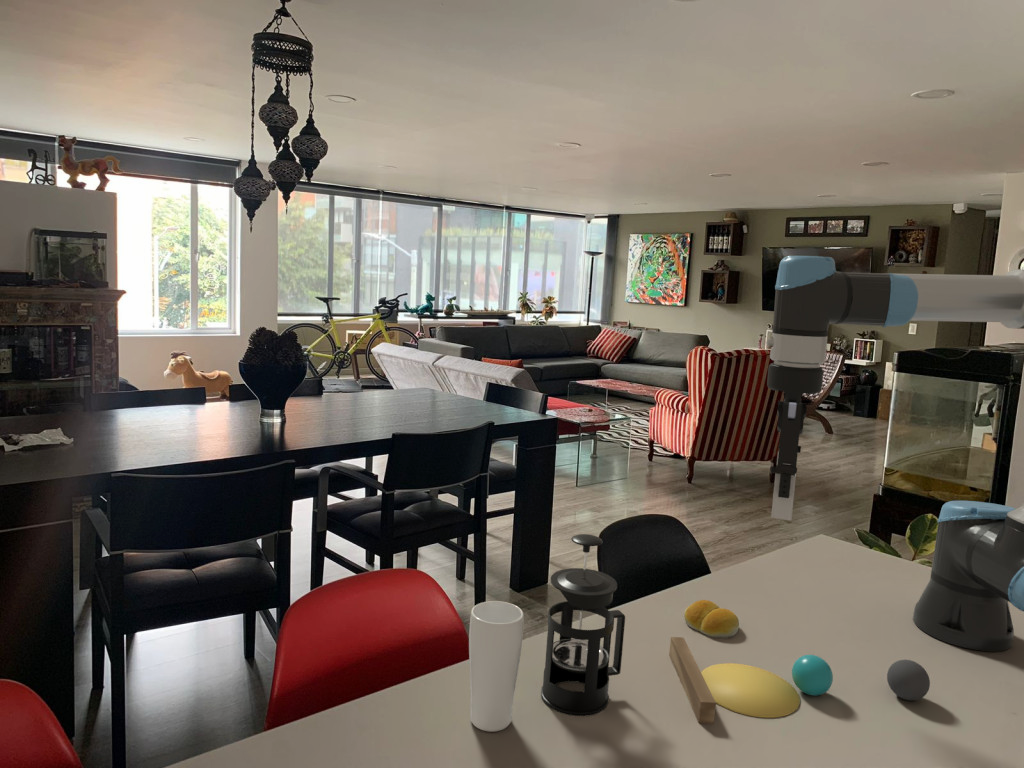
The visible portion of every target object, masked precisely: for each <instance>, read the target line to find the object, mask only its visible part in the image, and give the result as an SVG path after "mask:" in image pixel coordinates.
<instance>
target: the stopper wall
mask: <svg viewBox="0 0 1024 768" xmlns="http://www.w3.org/2000/svg"><path fill="white" fill-rule="evenodd" d="M669 643H670V644H669V653H668V655H669V657H670V659H671V664H672V665H673V667H674V670H675V671H676V674H677V676H678V679H679V681H680V683H681V686H682V688H683V690H684V692H685V695H686V697H687V700H688V703H689V705H690V707H691V709H692V712H693V713H694V715H695V716H694V717H696V720H697V722H698V724H710V725H711V724H714V722H715V715H716V705H717V703H716V702H715V700H714V698H713V696H712V694H711V692H710V690H709V688H708V686H707V684H706V682H705V680H704V678H703V676H702V674H701V672H702V671H701V670H700V668H699V666H698V663H697V661H696V660H695V658H694V656H693V654H692V651H691V649H690V647H689V645H688V643H687V641H686V639H685V637H682V636H681V637H680V636H670V642H669Z"/></svg>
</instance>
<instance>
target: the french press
mask: <svg viewBox="0 0 1024 768" xmlns="http://www.w3.org/2000/svg"><path fill="white" fill-rule="evenodd" d="M570 539H571V541H572V542H573V543H574V544H576V545H579V546H582V552H583V553H584V558H583V559H584V561H583V567H582V568H581V567H579V568H578V567H575V568H574V567H572V568H571V567H570V568H564V569H560V570H557V571H555V572H554V573H552V575H551V576H550V583H551V585H552V586H553V587H554V588H555V589H556V590H558V591H559V592H560V593H561V594H562V595H563V597H564V598H565V600H566V601H561V602H557V603H555V604H553V605H552V606H550V607H549V609H548V612H547V634H546V635H547V636H546V647H545V649H546V650H545V663H544V670H543V679H542V680H543V681H542V686H541V689H540V697H541V699H542V701H543V703H544V704H545V705H546V706H547V707H549V708H550V709H551V710H553V711H556V712H558V713H561V714H565V715H568V716H572V717H573V716H574V717H588V716H594V715H596V714H599V713H601V712H603V711H605V709H606V708H607V707H608V705H609V702H610V696H609V682H610V677H612V676H617V675H620V674H621V671H622V659H623V646H624V636H625V624H626V616H625V615H626V614H625V613H623V612H622V611H621V610H620V609H615V610H609V609H608V608H606V607H608V606H610V604H612V602H613V596H614V592H616V590H617V589H618V583H617V580H616V579H615V578H614V577H612V576H611V575H609V574H607V573H604V572H602V571H599V570H595V569H589V568H587V563H588V562H587V561H588V553H590V551H591V547H597V546H600V545H602V544H603V542H604V541H603V539H602V538H601V537H598V536H596V535H594V534H588V533H579V534H575V535H573V536H572V537H571V538H570ZM574 611H579V619H578V621H579V623H578V628H573V618H574V617H573V616H574ZM583 612H587V613H591V614H592V613H593V614H595V615H598V616H601V617H602V618H604V627H601V628H597V629H582V626H583V625H582V624H583ZM557 613H561V614H560V616H561V617H560V623H559V622H557V621H556V620H555V619H553V616H554V615H556V614H557ZM615 619H616V629H615V638H614V639H615V640H614V651H613V662H612V665H611V666H609V665H610V656H611V655H610V654H611V642H612V633H613V631H614V625H615ZM555 633H556V634H558V635H559V640H556V641H554V639H555ZM602 639H603V643H602V645H601V640H602ZM564 682H565V683H567V682H573V683H580V684H584V685H583V691H576V690H570V689H566V688H563V687H561V686H559V685H558V684H562V683H564Z"/></svg>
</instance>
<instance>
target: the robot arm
mask: <svg viewBox="0 0 1024 768" xmlns="http://www.w3.org/2000/svg"><path fill="white" fill-rule="evenodd" d="M778 265H779V266H778V270H777V277H776V282H775V285H774V289H775V292H774V293H775V296H774V308H773V309H774V310H773V323H772V331H771V332H772V334H771V337H772V338H768V339H767V341H766V344H767V346H772V347H770V353H769V359H771V360H772V361H773V362H771V363H769V365H768V370H767V379H766V381H767V382H766V386H767V388H768V389H769V390H772V391H776V392H782V393H783V400H778V401H777V409H776V410H777V413H776V415H777V417H778V419H777V432H778V433H780V435H779V439H778V443H779V444H778V451H777V457H776V466H771V468H770V474H775V475H774V484H773V492H772V494H773V495H772V504H771V505H772V506H771V513H770V517H771V519H778V520H785V521H792V518H793V509H794V500H795V499H794V498H795V490H796V479H797V473H798V467H797V464H798V453H799V454H801V450H802V449H801V448H802V445H799V441H800V435H802V434H803V433H804V422H805V419H806V417H807V408H808V406H807V403H805V402H802V397H803V394H806V395H817V394H819V393H821V392H822V389H823V381H824V380H823V379H824V369H823V367H822V366H821V365H823V364H825V363H826V357H827V344H828V338H829V337H828V333H829V332H828V331H829V326H830V325H850V326H852V325H853V326H868V327H869V326H870V327H872V326H873V327H882V328H887V327H903V326H905V325H907V324H908V323H909V322H910V321H913V322H914V321H915V322H916V321H917V322H923V321H924V322H968V323H972V322H973V323H1000V324H1001V325H1003V326H1004V327H1005V328H1008V329H1014V330H1015V329H1022V330H1024V269H1014V270H1011V271H1008V272H1007V273H1005V274H1004V275H1002V274H1001V275H999V274H998V275H995V274H994V275H993V274H945V273H944V274H941V273H940V274H935V273H934V274H933V273H930V274H929V273H892V272H890V273H889V272H887V273H886V272H885V273H883V272H882V273H881V272H879V273H878V272H877V273H876V272H843V271H837V269H836V262H835V259H834V258H833V257H830V256H817V255H787V256H785V257H783V258H782V259H781V260H780V262H779V264H778ZM934 544H935V545H934V551H933V557H932V564H931V565H932V566H931V572H930V578H929V581H928V583H927V584H926V587H925V588H924V590H923V592H922V594H921V596H920V597H919V599H918V601H917V602H916V604H914V609H913V616H912V621H913V623H914V624H915V626H916V627H917V628H918V629H920V630H921V631H922V632H924V633H925V634H928V635H929V636H931V637H933V638H936V639H937V640H939V641H942V642H945V643H947V644H949V645H954V646H957V647H960V648H965V649H969V650H974V651H981V652H982V651H983V652H1002V651H1005V650H1009V649H1010V648H1011V647H1012V646H1013V642H1014V637H1015V630H1014V629H1015V628H1014V625H1013V620H1012V616H1011V610H1010V605H1009V603H1010V604H1011V605H1012V606H1013V607H1015V608H1017V609H1018V610H1019V611H1021V612H1024V502H1023V503H1022V505H1021V506H1020V507H1018V508H1015V507H1012V506H1009V505H1004V504H1003V505H1002V504H999V503H998V504H997V503H991V502H984V501H972V500H950V501H947V502H945V503H944V504H943V505H942V507H941V510H940V513H939V516H938V519H937V530H936V536H935V543H934Z"/></svg>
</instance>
